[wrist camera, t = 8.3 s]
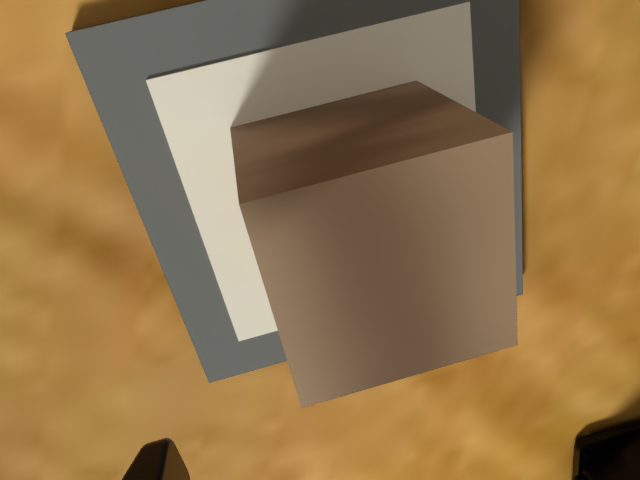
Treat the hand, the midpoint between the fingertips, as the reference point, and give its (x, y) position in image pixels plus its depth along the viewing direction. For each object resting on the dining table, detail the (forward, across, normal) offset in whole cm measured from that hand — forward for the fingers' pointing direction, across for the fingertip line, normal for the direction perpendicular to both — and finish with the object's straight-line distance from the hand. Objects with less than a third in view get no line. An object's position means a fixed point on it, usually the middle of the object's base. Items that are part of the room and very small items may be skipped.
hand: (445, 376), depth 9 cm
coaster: (+9, 0, 0) cm, 9 cm away
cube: (+9, 0, 0) cm, 9 cm away
